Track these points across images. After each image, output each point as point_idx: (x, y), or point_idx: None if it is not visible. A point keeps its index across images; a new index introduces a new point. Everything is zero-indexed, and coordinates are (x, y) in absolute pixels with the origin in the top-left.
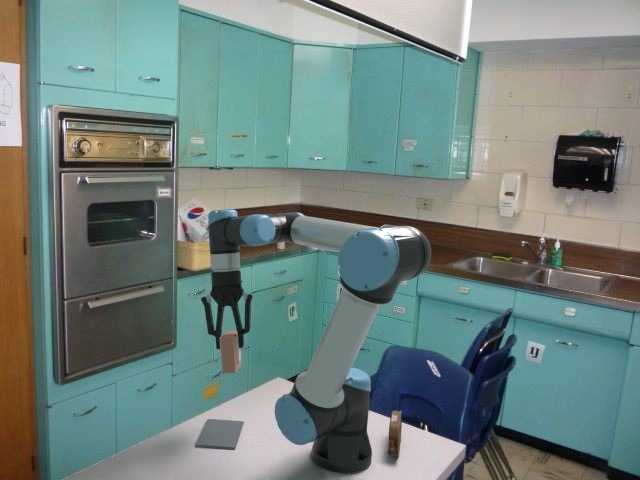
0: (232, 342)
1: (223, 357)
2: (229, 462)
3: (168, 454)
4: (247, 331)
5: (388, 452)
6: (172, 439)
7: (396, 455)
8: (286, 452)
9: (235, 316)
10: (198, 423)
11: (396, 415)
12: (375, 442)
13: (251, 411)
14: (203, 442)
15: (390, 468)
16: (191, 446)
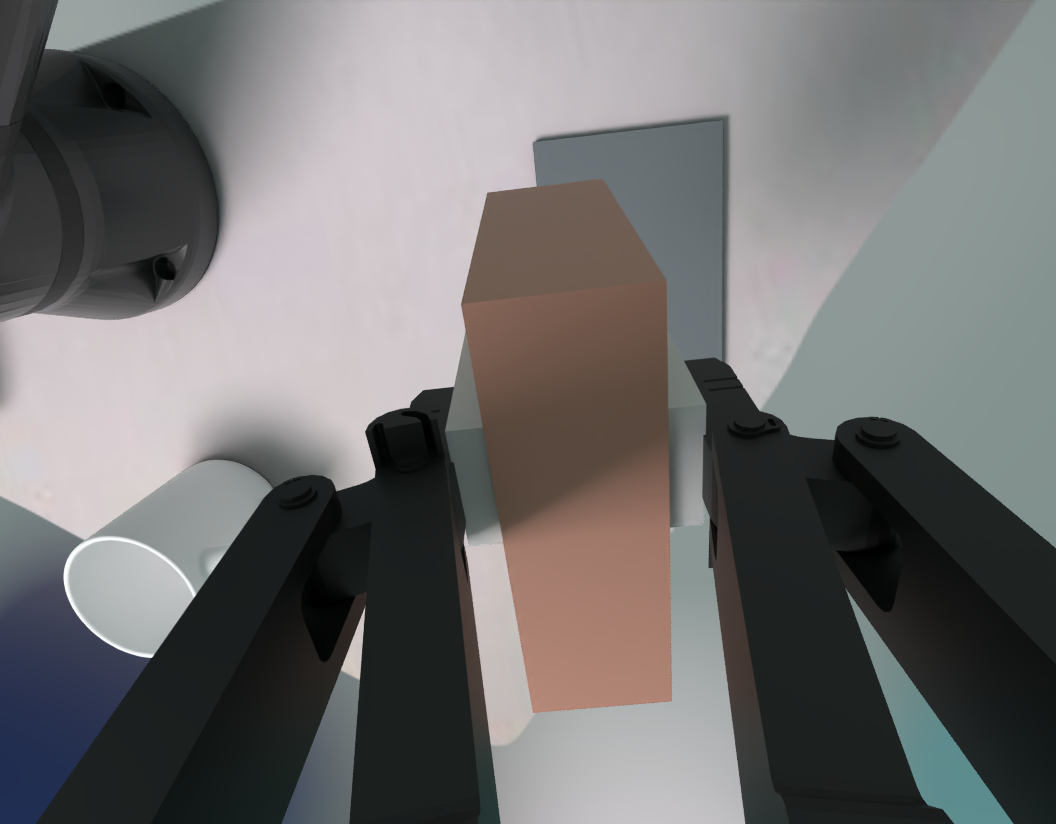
0: (482, 274)
1: (602, 212)
2: (529, 18)
3: (841, 10)
4: (290, 486)
5: None
6: (852, 163)
7: None
8: (316, 176)
9: (428, 675)
10: (758, 341)
11: None
12: (29, 338)
13: None
14: (690, 150)
15: None
16: (742, 120)
